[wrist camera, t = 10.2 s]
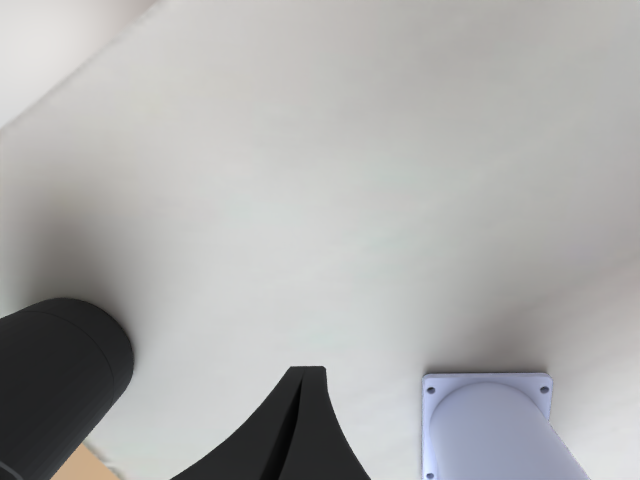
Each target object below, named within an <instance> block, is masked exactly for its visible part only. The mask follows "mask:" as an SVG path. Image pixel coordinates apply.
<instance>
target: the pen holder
mask: <svg viewBox="0 0 640 480" xmlns="http://www.w3.org/2000/svg"><path fill="white" fill-rule="evenodd" d="M133 365H134V363H133V353H132V349H131V345H130V343H129V340H128V338H127V336H126V334H125V333H124V331H123V330H122V328H121V327H120V326H119V325H118V323H117V322H116V321H115V320H114V319H113V318H112V317H111V316H109V315H108V314H107V313H105V312H104V311H102V310H101V309H99V308H98V307H95V306H93V305H91V304H89V303H86V302H83V301H79V300H75V299H68V298H55V299H48V300H45V301H42V302H39V303H36V304H34V305H32V306H29V307H27V308H24V309H22V310H20V311H17V312H15V313H13V314H10V315H8V316H5V317H3V318H1V319H0V480H50V479H51V477H52V476H53V475H54V474H55V473H56V472H57V470H58V469H59V468H60V467H61V466H62V465H63V464H64V462H65V461H66V460H67V459H68V458H69V457H70V455H71V454H72V453H73V452H74V451H75V449H76V448H77V447H78V446H79V445H80V444H81V443H82V441H83V440H84V439H85V438H86V437H87V436H88V434H89V433H90V432H91V431H92V430H93V428H94V427H95V426H96V425H97V424H98V423H99V421H100V420H101V419H102V418H103V417H104V416H105V414H106V413H107V412H108V411H109V409H110V408H111V407H112V406H113V405H114V403H115V402H116V401H117V400H118V399H119V397H120V396H121V395H122V394H123V392H124V391H125V390H126V388H127V386H128V385H129V383H130V380H131V378H132V373H133Z"/></svg>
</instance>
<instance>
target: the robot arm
mask: <svg viewBox="0 0 640 480" xmlns="http://www.w3.org/2000/svg"><path fill="white" fill-rule="evenodd" d="M544 386H545V388H544V389H541V388H542V387H544ZM429 387H433V389H432V390H428V388H429ZM552 389H553V379H552V378H551V377H550V376H549V375H548V374H547V373H463V374H427V375H425V376H424V377H423V379H422V480H591V479H590V478H589V477H588V475H587V474H586V473H585V471H584V470H583V468H582V467H581V466H580V464H579V463H578V462H577V460H576V459H575V458H574V456H573V455H572V453H571V452H570V451H569V449H568V448H567V447H566V445H565V444H564V443H563V441H562V440H561V438H560V437H559V436H558V434H557V433H556V432H555V430H554V429H553V428H552V426H551V425H550V423H549V416H550V407H551V398H552ZM428 473H431V474H428ZM170 480H371V479H370V477H369V476H368V475H367V473H366V472H365V470H364V469H363V467H362V465H361V464H360V462H359V461H358V459H357V458H356V456H355V454H354V453H353V451H352V449H351V447H350V446H349V444H348V442H347V440H346V438H345V436H344V434H343V432H342V430H341V428H340V425H339V423H338V421H337V418H336V415H335V413H334V410H333V407H332V404H331V401H330V398H329V394H328V389H327V376H326V369H325V368H324V367H323V366H293V367H290V368H289V369H288V370H287V372H286V373H285V374H284V376H283V377H282V378H281V380H280V381H279V383H278V384H277V385H276V386H275V388H274V389H273V390H272V392H271V393H270V394H269V395H268V396H267V398H266V399H265V400H264V401H263V403H262V404H261V405H260V406H259V407H258V408H257V409H256V410H255V412H254V413H253V414H252V415H251V416H250V417H249V418H248V419H247V420H246V421H245V422H244V423H243V424H242V425H241V426H240V427H239V428H238V429H237V430H236V431H235V432H234V433H233V434H232V435H231V436H230V437H229V438H227V439H226V440H225V441H224V442H223V443H221V444H220V445H219V446H217V447H216V448H215V449H214V450H212V451H211V452H210V453H208V454H207V455H206V456H205V457H203V458H202V459H201V460H199V461H198V462H196V463H195V464H193V465H192V466H190V467H189V468H187V469H186V470H184V471H183V472H181V473H180V474H178V475H176V476H175V477H173V478H172V479H170Z"/></svg>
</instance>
